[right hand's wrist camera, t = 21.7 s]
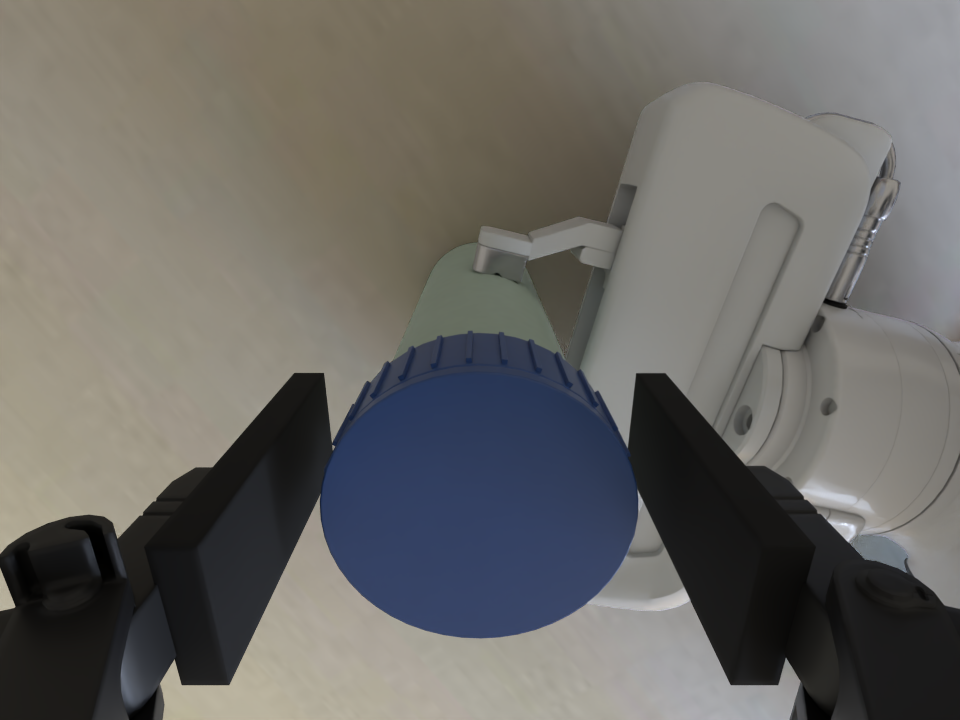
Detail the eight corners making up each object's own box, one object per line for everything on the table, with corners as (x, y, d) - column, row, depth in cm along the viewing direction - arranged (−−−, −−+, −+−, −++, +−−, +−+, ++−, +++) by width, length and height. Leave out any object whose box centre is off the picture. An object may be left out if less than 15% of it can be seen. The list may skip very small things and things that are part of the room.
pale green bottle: (549, 320, 27) (646, 542, 11) (455, 363, 28) (424, 625, 12) (505, 223, 25) (547, 326, 10) (406, 271, 26) (298, 439, 11)
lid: (395, 588, 14) (379, 666, 12) (302, 369, 12) (262, 417, 9) (635, 534, 13) (665, 608, 11) (584, 294, 11) (609, 327, 9)
